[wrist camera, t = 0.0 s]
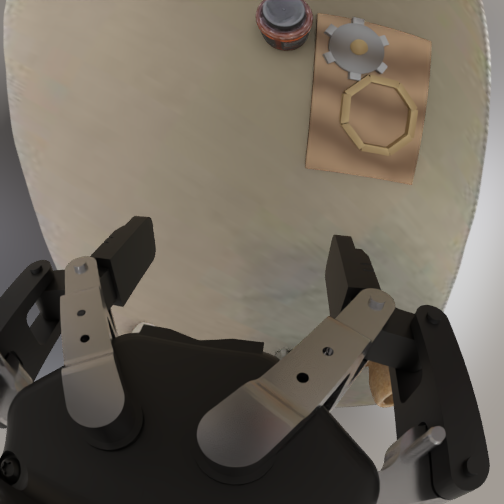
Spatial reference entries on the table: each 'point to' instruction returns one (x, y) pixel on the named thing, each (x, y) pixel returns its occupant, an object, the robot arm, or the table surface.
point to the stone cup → (380, 384)
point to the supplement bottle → (284, 22)
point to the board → (367, 99)
